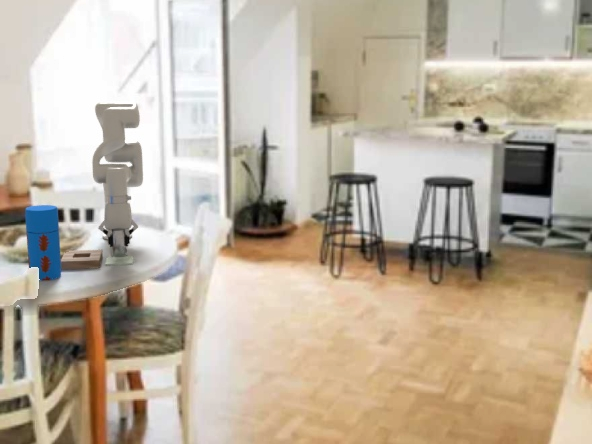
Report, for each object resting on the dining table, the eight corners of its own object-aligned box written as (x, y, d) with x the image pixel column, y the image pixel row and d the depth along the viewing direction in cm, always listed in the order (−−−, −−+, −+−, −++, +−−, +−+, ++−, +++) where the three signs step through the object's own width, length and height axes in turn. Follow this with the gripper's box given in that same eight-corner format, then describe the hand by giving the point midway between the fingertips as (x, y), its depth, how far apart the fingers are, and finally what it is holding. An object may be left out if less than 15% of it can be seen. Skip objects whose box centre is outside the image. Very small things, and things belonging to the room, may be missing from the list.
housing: (65, 258, 285) (65, 250, 285) (102, 257, 288) (102, 249, 287) (60, 269, 270) (60, 261, 269) (99, 267, 273) (99, 260, 272)
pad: (107, 258, 286) (107, 257, 285) (133, 257, 287) (133, 256, 287) (105, 265, 276) (105, 263, 276) (132, 264, 278) (132, 262, 278)
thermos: (30, 282, 254) (25, 211, 249) (28, 274, 263) (23, 206, 258) (63, 278, 258) (59, 209, 253) (59, 271, 268) (55, 204, 262)
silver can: (113, 254, 283) (111, 226, 281) (126, 253, 284) (125, 226, 282) (112, 257, 278) (111, 229, 276) (126, 257, 279) (125, 228, 277)
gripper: (140, 197, 282) (142, 243, 285) (94, 198, 279) (97, 244, 282) (140, 200, 275) (141, 247, 278) (93, 201, 271) (95, 249, 275)
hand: (119, 245), depth 280 cm, fingers closed on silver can, 5 cm apart
